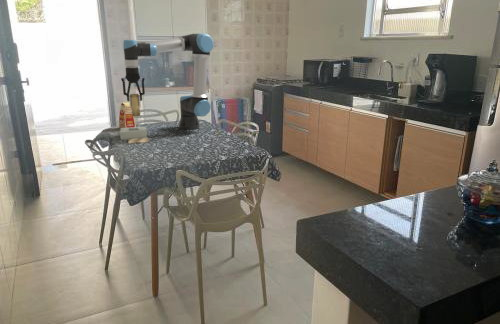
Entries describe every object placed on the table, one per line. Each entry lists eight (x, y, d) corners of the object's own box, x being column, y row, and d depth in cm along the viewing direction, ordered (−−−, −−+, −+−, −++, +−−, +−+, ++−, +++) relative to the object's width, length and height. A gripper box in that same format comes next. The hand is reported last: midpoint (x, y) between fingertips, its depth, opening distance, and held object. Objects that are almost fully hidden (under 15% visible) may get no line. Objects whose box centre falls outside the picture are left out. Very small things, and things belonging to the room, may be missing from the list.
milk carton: (126, 130, 265) (123, 102, 259) (118, 128, 271) (115, 100, 264) (137, 128, 272) (134, 100, 266) (129, 126, 277) (126, 99, 271)
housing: (146, 134, 256) (146, 126, 255) (146, 138, 245) (146, 130, 243) (121, 135, 252) (121, 128, 251) (120, 139, 241) (120, 132, 240)
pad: (148, 138, 244) (148, 137, 244) (148, 142, 235) (148, 141, 235) (128, 139, 241) (128, 138, 241) (128, 143, 232) (128, 142, 232)
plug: (140, 114, 236) (138, 93, 233) (140, 116, 232) (138, 94, 228) (132, 115, 235) (130, 93, 231) (131, 116, 231) (129, 95, 227)
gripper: (147, 66, 230) (150, 104, 237) (116, 66, 226) (120, 105, 233) (147, 67, 223) (150, 106, 231) (115, 67, 219) (119, 107, 226)
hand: (135, 106), depth 232 cm, fingers closed on plug, 5 cm apart
